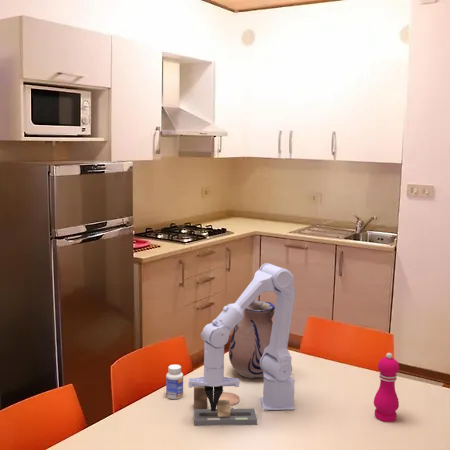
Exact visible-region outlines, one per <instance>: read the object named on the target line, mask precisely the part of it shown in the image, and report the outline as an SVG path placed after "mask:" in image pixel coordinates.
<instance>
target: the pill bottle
mask: <svg viewBox="0 0 450 450" xmlns="http://www.w3.org/2000/svg"><path fill="white" fill-rule="evenodd" d="M165 377H166V378H165V379H166V380H165V381H166V382H165V387H166V392H165V393H166V398H168V399H170V400H179V399H181V398H183V396H184V373H183V372H182V366H181V365H180V364H170V365H169V366H168V372H167V373H166V375H165Z"/></svg>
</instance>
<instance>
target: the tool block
mask: <svg viewBox="0 0 450 450" xmlns="http://www.w3.org/2000/svg"><path fill="white" fill-rule="evenodd" d="M194 409H208V397H207V395H206V393H205V387H193V410H194Z"/></svg>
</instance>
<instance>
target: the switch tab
mask: <svg viewBox="0 0 450 450" xmlns="http://www.w3.org/2000/svg"><path fill="white" fill-rule="evenodd" d="M216 409H217V415H218V417H230V409H231V406H230V401H229V400H218V403H217V406H216Z"/></svg>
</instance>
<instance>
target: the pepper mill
mask: <svg viewBox="0 0 450 450" xmlns="http://www.w3.org/2000/svg"><path fill="white" fill-rule="evenodd" d="M377 368H378V371H379V373H378V374H379V376H378V377H379V379H380V380H379V381H380V383H379V387H378V389H377V392H376V393H375V396H374V399H373V405H374V407H375V409H374V417H375V419H376V420H379V421H381V422H386V423H390V422H391V423H392V422H396V420H397V411H398V409H399V407H400V405H399V404H400V401H399V398H398V395H397V391H396V381H397V374H398V372H399V371H400V364H399V362H398V360H397V359H395V358H393V354H392V353H391V352H387V353H386V355H385V357H382V358H380V359H379V361H378V364H377Z"/></svg>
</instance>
